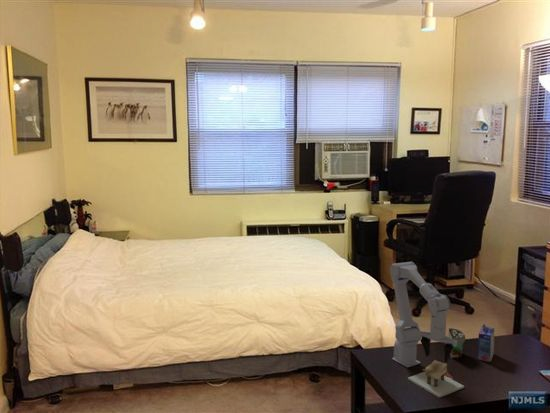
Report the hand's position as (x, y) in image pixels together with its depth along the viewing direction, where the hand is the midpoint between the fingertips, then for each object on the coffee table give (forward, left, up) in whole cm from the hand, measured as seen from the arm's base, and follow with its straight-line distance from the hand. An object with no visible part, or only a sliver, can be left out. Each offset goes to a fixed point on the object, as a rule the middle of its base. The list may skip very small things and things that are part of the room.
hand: (436, 358), depth 187 cm
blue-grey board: (0, -1, -10) cm, 10 cm away
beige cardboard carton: (0, 0, -10) cm, 10 cm away
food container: (-13, +28, -11) cm, 33 cm away
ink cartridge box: (-5, +37, -11) cm, 39 cm away
